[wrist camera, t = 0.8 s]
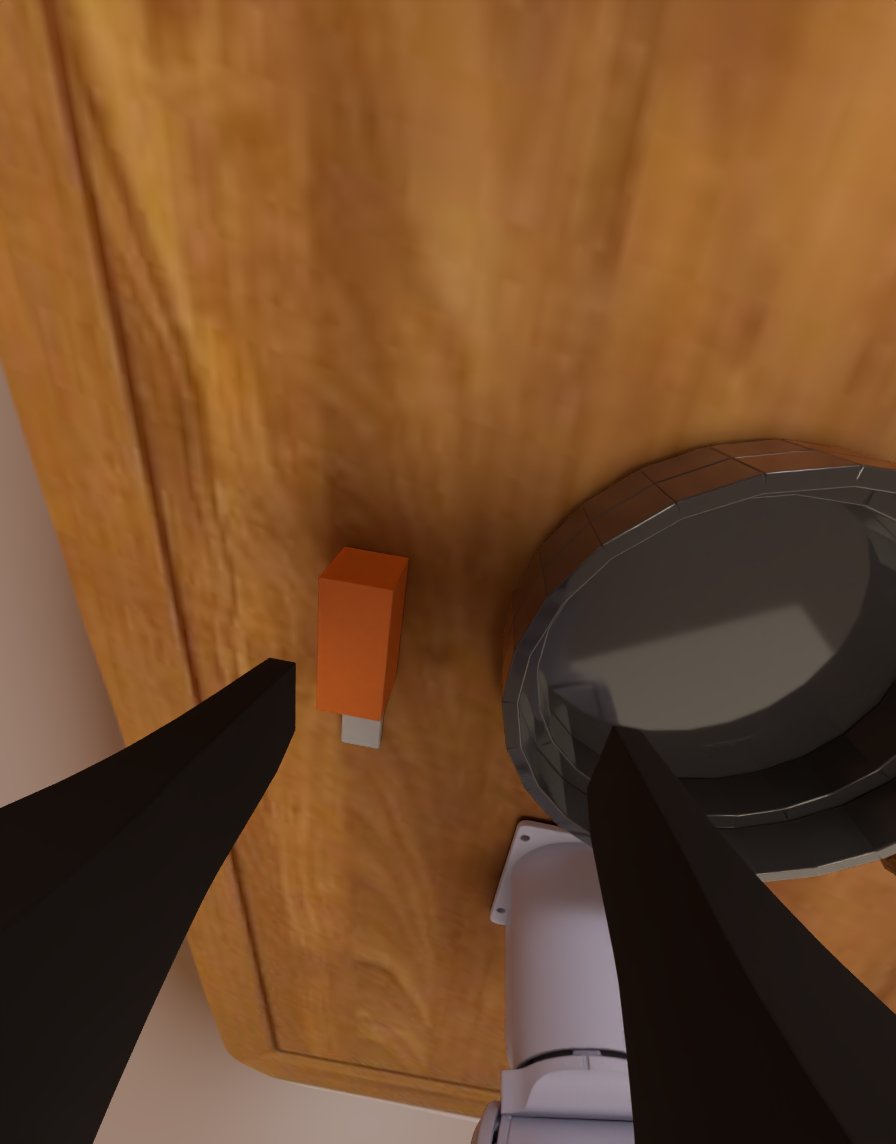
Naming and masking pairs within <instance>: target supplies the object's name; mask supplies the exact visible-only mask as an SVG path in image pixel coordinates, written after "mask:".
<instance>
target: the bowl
mask: <svg viewBox="0 0 896 1144" xmlns="http://www.w3.org/2000/svg"><path fill="white" fill-rule="evenodd" d="M502 710H503V720H504V731H505V742H506V747H507V751H508V753H509V755H510V757H511V760H512V762H513V764H514V766H515V768H516V771H517V773H518V775H519V777H520V779H521V781H522V784H523V786H524V788H525V789H526V791H527V792H528V793H529V794H530V795H531V796H532V798H533V799H534V800H535V801H536V802H537V803H538V804H539V805H540V807H541V808H542V809H543V810H544V811H545V812H546V813H547V814H548V815H549V817H550V818H551V819H552V820H553V821H554V822H555V823H556V824H557V825H558V826H560V827H561V828H563V829H564V830H566V831H567V832H569V833H570V834H572V835H573V836H575V837H576V838H578V839H579V840H581V841H582V842H584V843H585V844H587V845H588V846H590V847H591V848H592V843H591V837H590V827H589V816H588V801H587V787H588V784H589V782H590V779H591V777H592V775H593V772H594V770H595V767H596V765H597V762H598V760H599V758H600V755H601V753H602V750H603V748H604V746H605V743H606V741H607V738H608V736H609V733H610V731H611V729H612V726H613V725H614V726H619V727H624V728H630V729H635V730H640V731H641V732H642V733H643V734H644V736H645V737H646V738H647V739H648V741H649V742H650V743H651V744H652V746H653V747H654V748H655V750H656V751H657V752H658V754H659V755H660V756H661V758H662V759H663V760H664V762H665V763H666V764H667V766H668V767H669V768H670V770H671V771H672V772H673V773H674V775H675V776H676V777H677V779H678V780H679V781H680V783H681V784H682V785H683V787H684V788H685V789H686V790H687V792H688V793H689V794H690V796H691V797H692V798H693V799H694V801H695V802H696V803H697V805H698V806H699V807H700V808H701V810H702V811H703V812H704V813H705V815H706V816H707V817H708V818H709V820H710V821H711V822H712V823H713V825H714V826H715V827H716V828H717V829H718V831H719V832H720V833H721V834H722V835H723V837H724V838H725V839H726V840H727V841H728V843H729V844H730V845H731V846H732V847H733V849H734V850H735V851H736V852H737V853H738V854H739V855H740V857H741V858H742V859H743V860H744V861H745V862H746V864H747V865H748V866H749V867H750V868H751V869H752V870H753V872H754V873H755V874H756V875H757V876H758V877H759V878H760V880H761V881H762V882H769V881H778V880H788V879H797V878H806V877H815V876H819V875H824V874H828V873H832V872H836V871H839V870H843V869H847V868H851V867H855V866H859V865H862V864H866V863H870V862H874V861H878V860H881V859H882V858H887V857H889V856H891V855H893V854H896V463H894V462H891V461H887V460H884V459H880V458H877V457H873V456H870V455H866V454H863V453H859V452H856V451H852V450H849V449H843V448H836V447H830V446H824V445H817V444H811V443H805V442H798V441H792V440H786V439H780V440H779V439H774V440H764V441H754V442H743V443H733V444H723V445H713V446H709V447H703V448H700V449H697V450H694V451H691V452H688V453H685V454H682V455H679V456H676V457H674V458H671V459H668V460H665V461H662V462H659V463H656V464H653V465H650V466H647V467H644V468H641V469H640V471H639V470H637V471H635V472H634V473H632V474H630V475H629V476H627V477H626V478H624V479H622V480H621V481H619V482H618V483H616V484H614V485H613V486H611V487H609V488H608V489H606V490H605V491H603V492H601V493H600V494H598V495H597V496H595V497H593V498H592V499H590V500H589V501H587V502H585V503H584V504H583V505H582V506H580V507H579V508H578V509H577V510H576V511H575V512H574V513H573V514H572V515H571V516H570V517H569V518H568V519H567V520H566V521H565V522H564V523H563V524H562V525H561V526H560V527H559V528H558V529H557V530H556V531H555V532H554V533H553V534H552V535H551V536H550V537H549V538H548V539H547V540H546V541H545V543H544V544H543V545H542V546H541V547H540V549H538V551H537V552H536V554H535V556H534V558H533V559H532V561H531V563H530V565H529V566H528V568H527V570H526V572H525V574H524V575H523V577H522V579H521V581H520V582H519V584H518V586H517V588H516V589H515V591H514V593H513V596H512V600H511V605H510V609H509V613H508V618H507V622H506V626H505V631H504V635H503V641H502Z"/></svg>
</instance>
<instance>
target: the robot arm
mask: <svg viewBox="0 0 896 1144" xmlns="http://www.w3.org/2000/svg"><path fill="white" fill-rule="evenodd" d="M295 684H296V663H294V662H289V661H284V660H279V659H274V658H268V659H267V660H265V661H264V662H262V663H261V664H259V665H258V666H256V667H255V668H253V669H251V670H250V671H248V672H247V673H245V674H244V675H243V676H241V677H240V678H238V679H237V680H235V681H234V682H232V683H231V684H229V685H228V686H226V687H225V688H223V689H222V690H220V691H219V692H217V693H216V694H214V695H212V696H211V697H209V698H208V699H206V700H205V701H203V702H202V703H200V704H198V705H197V706H195V707H194V708H192V709H191V710H189V711H188V712H186V713H184V714H183V715H181V716H180V717H178V718H176V719H175V720H173V721H171V722H170V723H168V724H166V725H165V726H163V727H161V728H160V729H158V730H156V731H154V732H153V733H151V734H149V735H148V736H146V737H144V738H143V739H141V740H139V741H137V742H136V743H134V744H132V745H130V746H129V747H127V748H125V749H123V750H121V751H119V752H118V753H116V754H114V755H112V756H110V757H108V758H106V759H104V760H102V761H100V762H98V763H96V764H94V765H92V766H90V767H88V768H86V769H85V770H82V771H80V772H78V773H76V774H74V775H72V776H70V777H68V778H66V779H64V780H62V781H60V782H58V783H56V784H53V785H51V786H49V787H47V788H45V789H42V790H40V791H38V792H35V793H33V794H31V795H29V796H26V797H24V798H22V799H20V800H18V801H15V802H13V803H11V804H8V805H6V806H4V807H2V808H0V1144H93V1142H94V1139H95V1137H96V1135H97V1132H98V1130H99V1127H100V1125H101V1123H102V1120H103V1118H104V1116H105V1113H106V1111H107V1108H108V1106H109V1104H110V1101H111V1099H112V1097H113V1094H114V1092H115V1090H116V1087H117V1085H118V1083H119V1081H120V1078H121V1076H122V1074H123V1071H124V1069H125V1067H126V1064H127V1062H128V1060H129V1058H130V1055H131V1053H132V1051H133V1049H134V1047H135V1044H136V1042H137V1040H138V1038H139V1035H140V1033H141V1031H142V1029H143V1026H144V1024H145V1022H146V1020H147V1017H148V1015H149V1013H150V1011H151V1009H152V1006H153V1004H154V1002H155V1000H156V998H157V996H158V993H159V991H160V989H161V987H162V985H163V983H164V981H165V978H166V976H167V974H168V972H169V970H170V968H171V965H172V963H173V961H174V959H175V957H176V955H177V953H178V950H179V948H180V946H181V944H182V942H183V940H184V938H185V936H186V934H187V932H188V930H189V928H190V926H191V923H192V921H193V919H194V917H195V915H196V913H197V911H198V909H199V907H200V905H201V903H202V901H203V899H204V897H205V895H206V893H207V891H208V889H209V887H210V885H211V884H212V882H213V880H214V878H215V876H216V874H217V873H218V871H219V869H220V867H221V866H222V864H223V862H224V861H225V859H226V857H227V856H228V854H229V852H230V851H231V849H232V847H233V845H234V844H235V842H236V840H237V839H238V837H239V835H240V834H241V832H242V830H243V829H244V827H245V825H246V824H247V822H248V820H249V818H250V817H251V815H252V813H253V812H254V810H255V808H256V807H257V805H258V803H259V802H260V800H261V798H262V796H263V795H264V793H265V791H266V790H267V788H268V786H269V784H270V783H271V781H272V779H273V777H274V776H275V774H276V772H277V770H278V768H279V766H280V764H281V761H282V759H283V757H284V755H285V753H286V750H287V748H288V746H289V743H290V741H291V739H292V736H293V734H294V732H295ZM587 801H588V816H589V827H590V837H591V843H592V848H591V847H590V846H588V845H587V844H585V843H584V842H582V841H581V840H579V839H578V838H576V837H575V836H573V835H572V834H570V833H569V832H567V831H566V830H564V829H563V828H561V827H560V826H555V825H550V824H545V823H540V822H535V821H530V820H523V821H521V822H519V823H518V825H517V828H516V831H515V834H514V837H513V841H512V844H511V847H510V850H509V853H508V856H507V860H506V863H505V866H504V869H503V872H502V876H501V879H500V882H499V885H498V888H497V891H496V895H495V898H494V901H493V904H492V907H491V910H490V920H491V921H492V922H494V923H496V924H501V925H506V932H505V1039H506V1050H507V1056H508V1061H509V1065H510V1068H511V1070H502V1071H501V1101H495V1100H494V1101H492V1102H490V1103H489V1104H488V1105H487V1107H486V1108H485V1110H484V1112H483V1115H482V1118H481V1120H480V1121H479V1123H478V1125H477V1126H476V1128H475V1131H474V1134H473V1137H472V1141H471V1144H896V1014H894V1013H893V1012H892V1011H891V1010H890V1009H889V1008H888V1007H887V1006H886V1005H885V1004H884V1003H883V1002H882V1001H881V1000H879V999H878V998H877V997H876V996H875V995H874V994H873V993H872V992H871V991H870V990H869V989H868V988H867V987H866V986H865V985H864V984H863V983H861V982H860V981H859V980H858V979H857V978H856V977H855V976H854V975H853V974H852V973H851V972H850V971H849V970H848V969H847V968H846V967H845V966H843V965H842V964H841V963H840V962H839V961H838V960H837V959H836V958H835V957H834V956H833V955H832V954H831V953H830V952H829V951H828V950H827V949H826V948H825V947H824V946H823V945H822V944H821V943H820V942H819V941H818V940H817V939H816V938H815V937H814V936H813V935H812V934H811V933H810V932H809V931H808V929H807V928H806V927H805V926H804V925H803V924H802V923H801V922H800V921H799V920H798V919H797V918H796V917H795V916H794V915H793V914H792V913H791V912H790V911H789V910H788V909H787V908H786V907H785V906H784V905H783V903H782V902H781V901H780V900H779V899H778V898H777V897H776V896H775V895H774V894H773V893H772V892H771V891H770V889H769V888H768V887H767V886H766V885H765V884H764V883H763V882H762V881H761V880H760V878H759V877H758V876H757V875H756V874H755V873H754V872H753V870H752V869H751V868H750V867H749V866H748V865H747V864H746V862H745V861H744V860H743V859H742V858H741V857H740V855H739V854H738V853H737V852H736V851H735V850H734V849H733V847H732V846H731V845H730V844H729V843H728V841H727V840H726V839H725V838H724V837H723V835H722V834H721V833H720V832H719V831H718V829H717V828H716V827H715V826H714V825H713V823H712V822H711V821H710V820H709V818H708V817H707V816H706V815H705V813H704V812H703V811H702V810H701V808H700V807H699V806H698V805H697V803H696V802H695V801H694V799H693V798H692V797H691V796H690V794H689V793H688V792H687V790H686V789H685V788H684V787H683V785H682V784H681V783H680V781H679V780H678V779H677V777H676V776H675V775H674V773H673V772H672V771H671V770H670V768H669V767H668V766H667V764H666V763H665V762H664V760H663V759H662V758H661V756H660V755H659V754H658V752H657V751H656V750H655V748H654V747H653V746H652V744H651V743H650V742H649V741H648V739H647V738H646V737H645V736H644V734H643V733H642V732H641V731H640V730H635V729H630V728H624V727H619V726H614V725H613V726H612V729H611V731H610V733H609V736H608V738H607V741H606V743H605V746H604V748H603V750H602V753H601V755H600V758H599V760H598V762H597V765H596V767H595V770H594V772H593V775H592V777H591V779H590V782H589V784H588V787H587Z"/></svg>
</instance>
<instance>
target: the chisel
mask: <svg viewBox="0 0 896 1144" xmlns="http://www.w3.org/2000/svg"><path fill="white" fill-rule="evenodd" d="M408 562H409V558H407V557H401V556H395V555H389V554H384V553H378V552H372V551H366V550H361V549H355V548H349V547H344V548H343V549H342V550H341V551H340V553H339V554H338V555H337V556H336V557H335V559H334V560H333V561H332V562H331V563H330V565H329V566H328V567H327V568H326V569H325V571H324V572H323V573H322V574H321V575H320V577H319V593H318V659H317V710H322V711H327V712H332V713H337V714H342V735H341V742H345V743H350V744H355V745H361V746H366V747H371V748H376V749H379V747H380V744H381V737H382V727H383V717H384V710H385V707H386V705H387V702H388V699H389V696H390V693H391V690H392V687H393V684H394V681H395V678H396V671H397V662H398V653H399V644H400V635H401V626H402V617H403V608H404V598H405V589H406V580H407V571H408Z"/></svg>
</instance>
